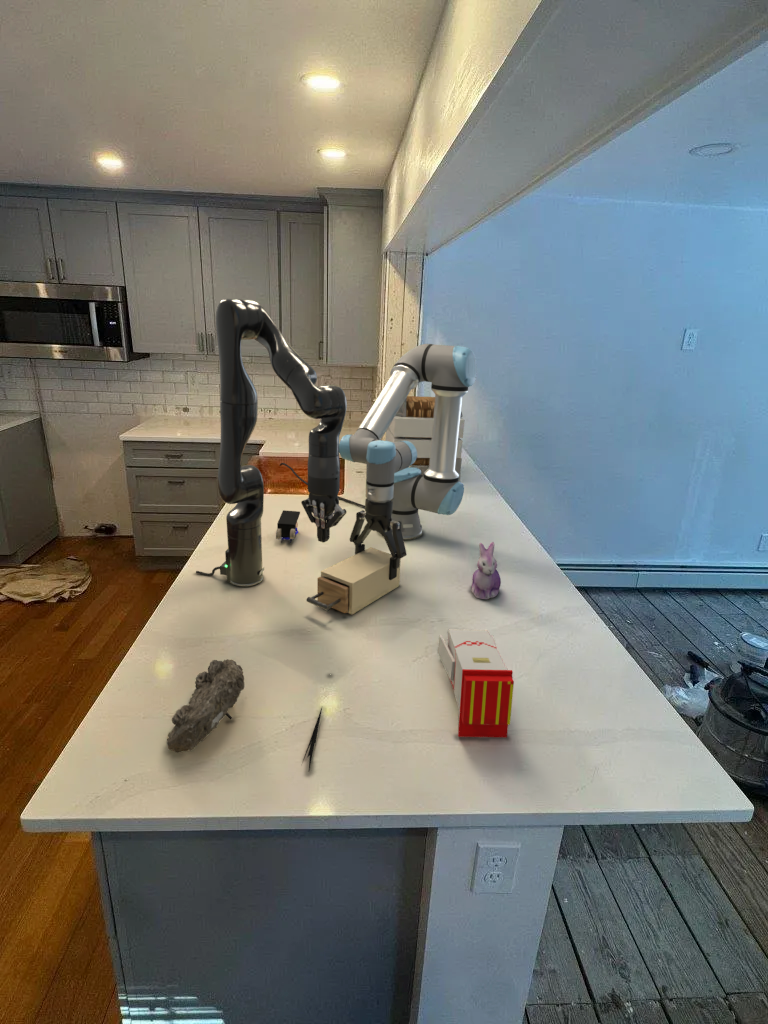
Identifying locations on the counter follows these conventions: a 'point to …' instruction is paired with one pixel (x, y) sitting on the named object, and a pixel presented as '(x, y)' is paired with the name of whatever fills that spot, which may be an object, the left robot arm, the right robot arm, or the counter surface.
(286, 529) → the black wheeled vehicle
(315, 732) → the feather
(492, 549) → the figurine
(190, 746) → the fossil
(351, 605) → the cabinet
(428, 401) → the white slatted crate
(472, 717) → the toy
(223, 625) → the counter surface
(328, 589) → the drawer
